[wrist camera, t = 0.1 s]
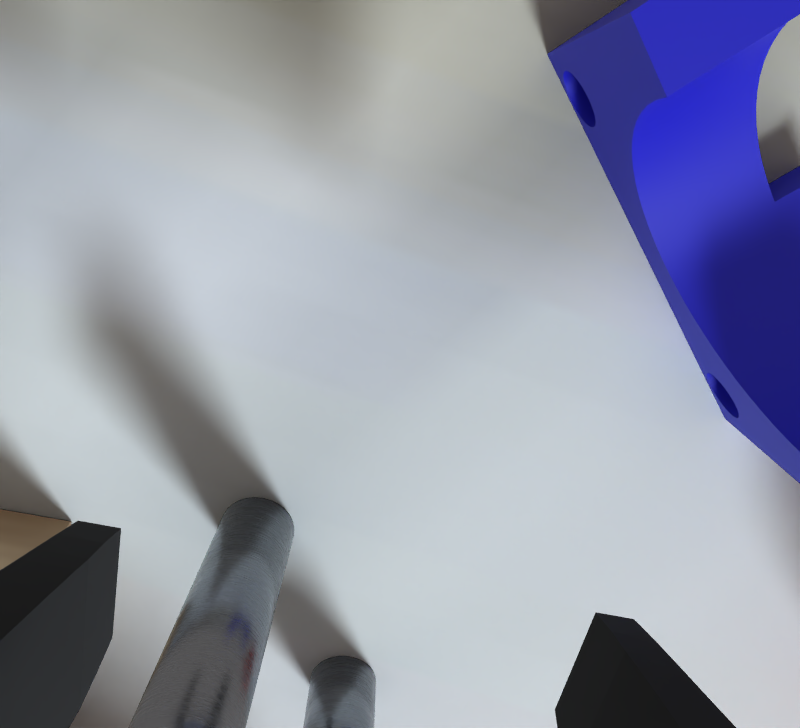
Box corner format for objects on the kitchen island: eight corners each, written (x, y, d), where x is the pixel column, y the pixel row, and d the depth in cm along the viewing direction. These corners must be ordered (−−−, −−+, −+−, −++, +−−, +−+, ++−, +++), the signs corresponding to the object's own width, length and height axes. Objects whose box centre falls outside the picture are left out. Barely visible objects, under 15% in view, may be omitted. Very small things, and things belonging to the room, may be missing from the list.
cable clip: (863, 343, 19) (1067, 435, 13) (722, 416, 19) (856, 532, 14) (711, -56, 15) (903, -169, 9) (545, 54, 16) (630, 13, 10)
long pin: (288, 564, 21) (228, 804, 13) (217, 551, 21) (116, 789, 13) (299, 504, 20) (242, 726, 13) (226, 491, 20) (124, 708, 12)
